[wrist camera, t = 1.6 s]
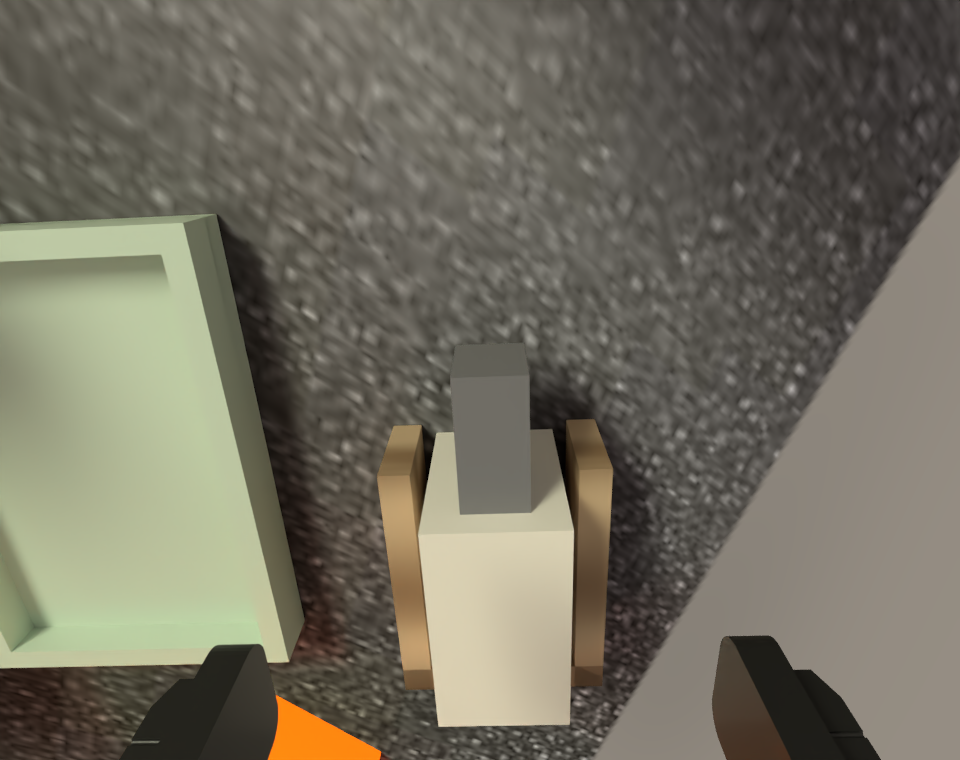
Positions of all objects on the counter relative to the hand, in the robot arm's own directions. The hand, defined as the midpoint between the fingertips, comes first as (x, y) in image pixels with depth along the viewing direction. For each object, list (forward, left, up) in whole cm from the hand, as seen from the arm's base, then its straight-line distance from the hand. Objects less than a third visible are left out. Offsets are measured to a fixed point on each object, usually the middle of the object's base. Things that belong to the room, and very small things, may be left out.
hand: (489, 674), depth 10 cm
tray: (+3, -17, -15) cm, 23 cm away
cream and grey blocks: (+5, 0, -15) cm, 16 cm away
